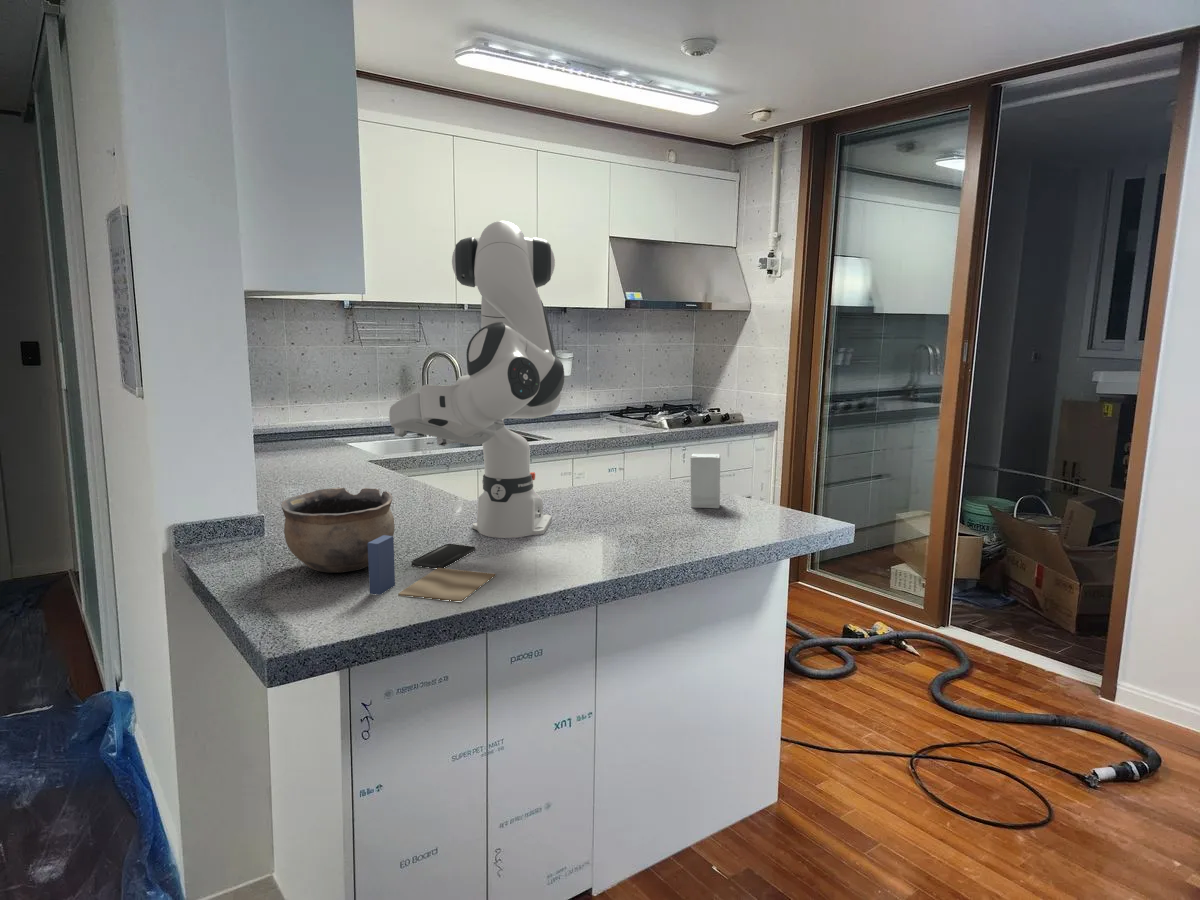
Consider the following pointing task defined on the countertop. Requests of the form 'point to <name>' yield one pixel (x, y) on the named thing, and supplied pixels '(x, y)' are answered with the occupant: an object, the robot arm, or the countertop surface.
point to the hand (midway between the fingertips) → (419, 437)
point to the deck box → (381, 564)
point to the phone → (443, 556)
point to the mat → (447, 584)
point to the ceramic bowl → (336, 527)
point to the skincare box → (705, 480)
